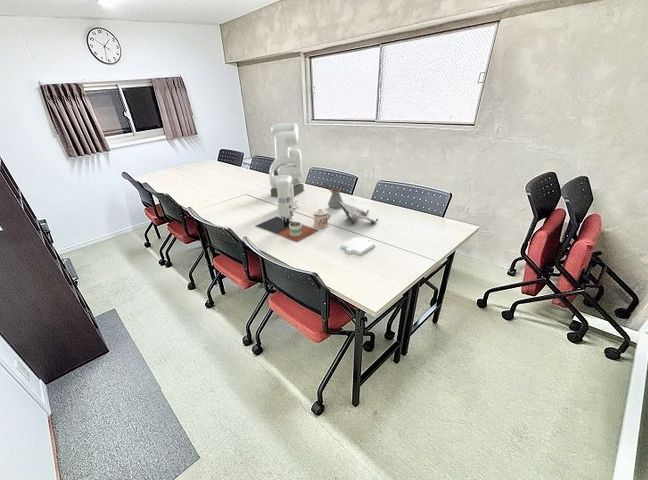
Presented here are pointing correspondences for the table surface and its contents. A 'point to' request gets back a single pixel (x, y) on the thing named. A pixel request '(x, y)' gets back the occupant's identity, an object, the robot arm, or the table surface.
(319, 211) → the teacup with lid
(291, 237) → the felt runner
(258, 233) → the table surface
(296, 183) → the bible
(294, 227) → the cup
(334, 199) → the coffee pot
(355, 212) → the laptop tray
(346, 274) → the table surface
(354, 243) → the mounting plate
